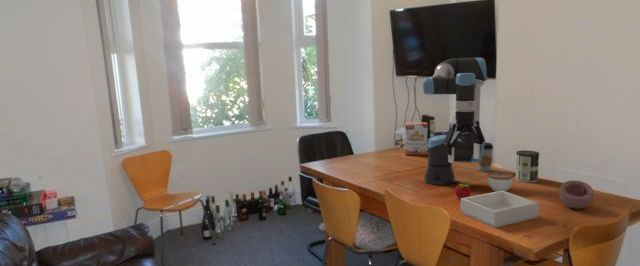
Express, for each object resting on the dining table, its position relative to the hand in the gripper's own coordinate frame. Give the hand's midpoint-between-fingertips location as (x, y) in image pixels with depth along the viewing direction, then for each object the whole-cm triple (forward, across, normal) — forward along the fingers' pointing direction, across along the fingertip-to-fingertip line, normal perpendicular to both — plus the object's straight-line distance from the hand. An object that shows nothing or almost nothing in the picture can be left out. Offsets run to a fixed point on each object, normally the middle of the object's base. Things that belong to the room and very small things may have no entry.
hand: (463, 160), depth 184 cm
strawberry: (+19, 0, 0) cm, 19 cm away
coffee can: (+19, +52, +13) cm, 56 cm away
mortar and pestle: (+19, +35, -26) cm, 47 cm away
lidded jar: (+19, +27, +6) cm, 33 cm away
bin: (+19, +2, -18) cm, 26 cm away
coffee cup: (+19, +47, +37) cm, 63 cm away
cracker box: (+19, +40, +90) cm, 100 cm away
